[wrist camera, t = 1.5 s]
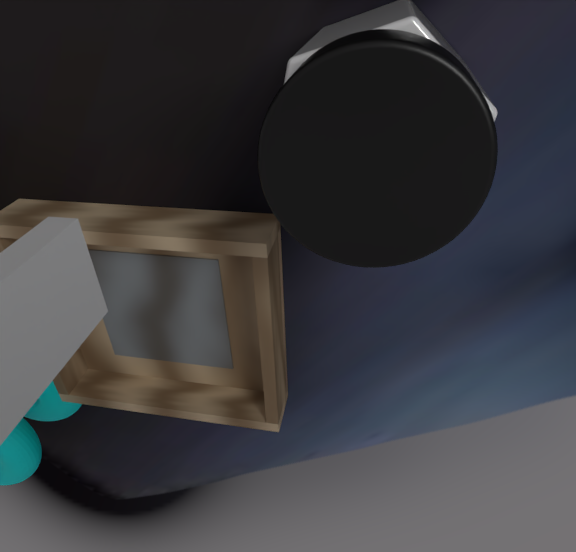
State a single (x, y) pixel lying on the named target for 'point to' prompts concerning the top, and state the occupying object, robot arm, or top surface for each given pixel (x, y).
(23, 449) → the donuts
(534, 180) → the top surface
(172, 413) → the crate
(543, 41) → the top surface
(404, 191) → the jar
